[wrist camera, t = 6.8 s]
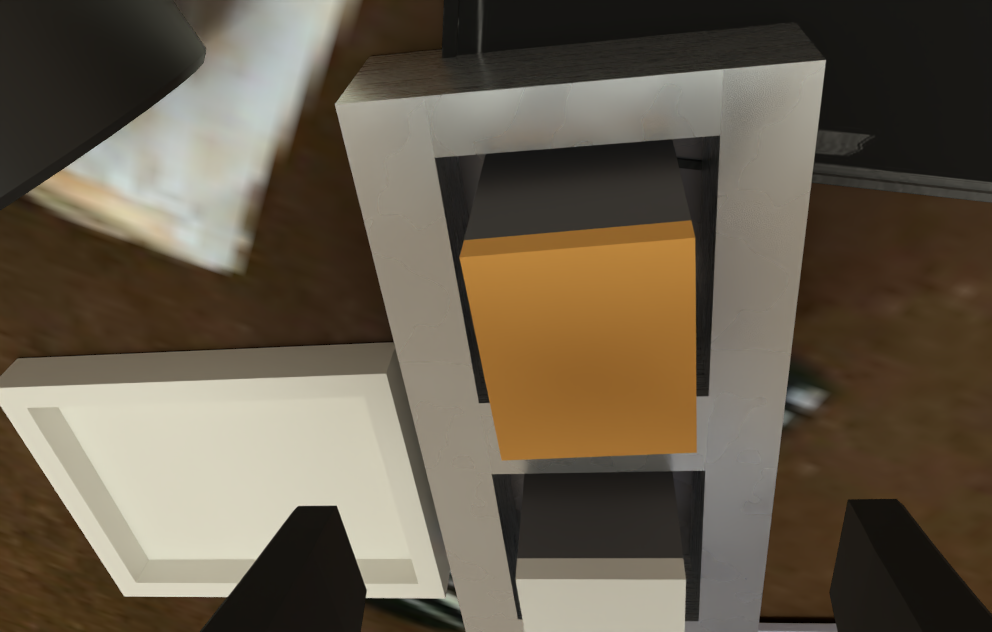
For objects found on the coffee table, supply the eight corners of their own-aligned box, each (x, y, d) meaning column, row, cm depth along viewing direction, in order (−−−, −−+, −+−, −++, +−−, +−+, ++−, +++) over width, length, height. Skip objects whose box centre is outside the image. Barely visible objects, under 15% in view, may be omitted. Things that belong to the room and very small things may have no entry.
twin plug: (666, 540, 25) (682, 694, 21) (542, 541, 26) (534, 691, 21) (666, 427, 22) (685, 579, 18) (528, 430, 23) (515, 579, 19)
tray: (450, 563, 28) (445, 598, 27) (141, 564, 29) (124, 596, 28) (396, 342, 22) (386, 373, 21) (17, 358, 24) (-11, 388, 23)
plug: (673, 308, 20) (696, 452, 16) (518, 319, 20) (501, 460, 16) (668, 121, 17) (695, 237, 13) (488, 141, 18) (459, 257, 13)
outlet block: (740, 564, 26) (756, 646, 24) (478, 564, 28) (468, 641, 25) (789, 14, 16) (825, 60, 14) (369, 55, 17) (334, 104, 15)
